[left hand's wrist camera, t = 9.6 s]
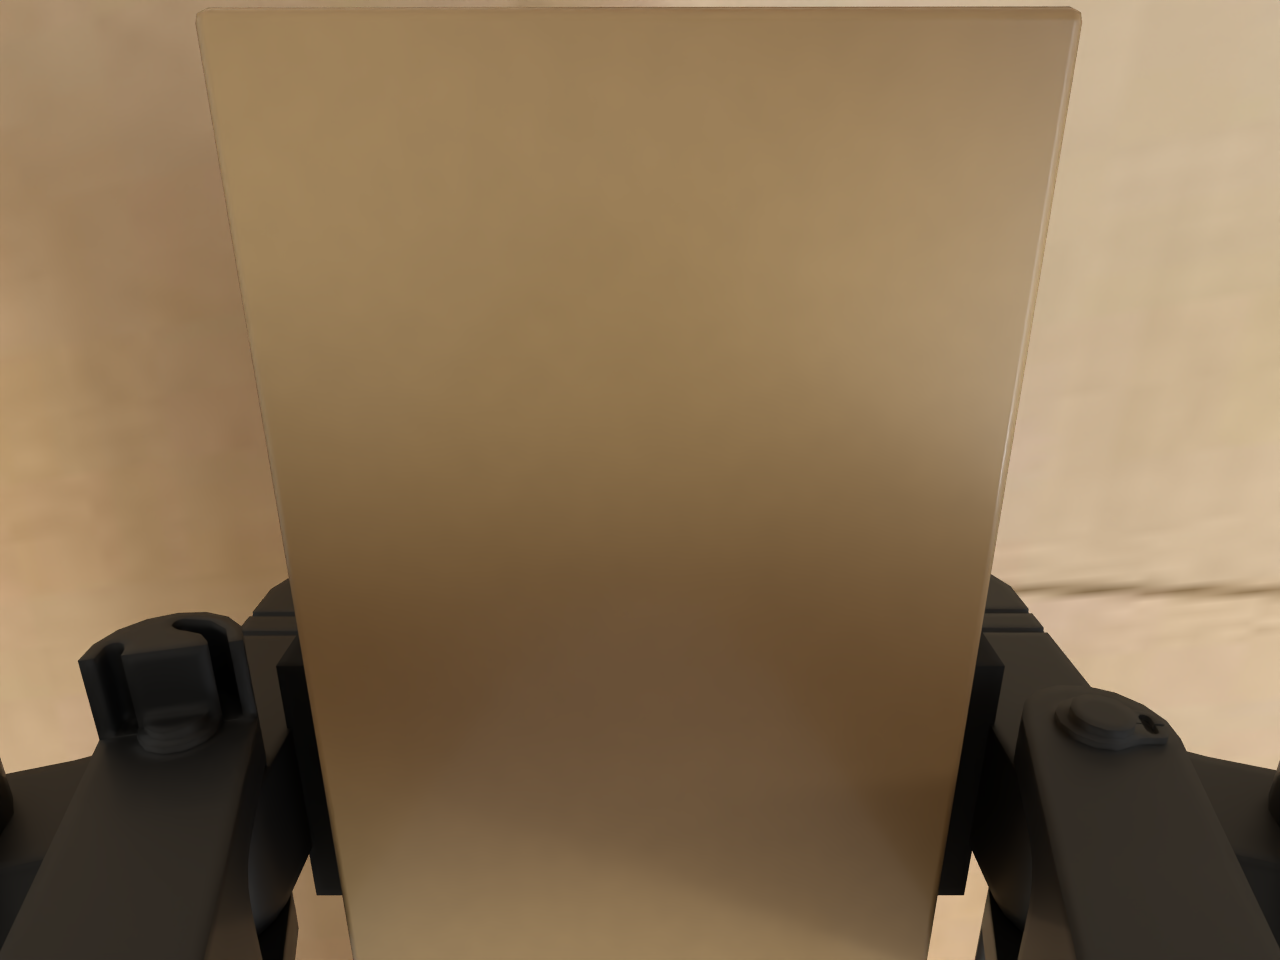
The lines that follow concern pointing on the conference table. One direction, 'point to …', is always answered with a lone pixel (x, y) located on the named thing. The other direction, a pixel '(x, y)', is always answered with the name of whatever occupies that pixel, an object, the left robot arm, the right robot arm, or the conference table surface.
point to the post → (639, 449)
